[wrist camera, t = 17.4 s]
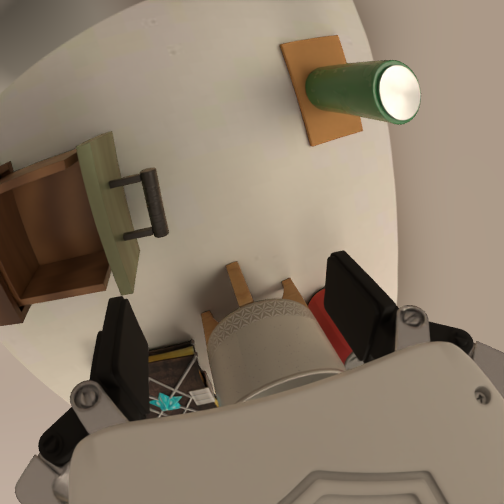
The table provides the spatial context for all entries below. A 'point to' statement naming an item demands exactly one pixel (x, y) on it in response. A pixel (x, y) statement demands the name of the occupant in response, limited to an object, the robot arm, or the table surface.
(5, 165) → the cabinet
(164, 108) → the table surface
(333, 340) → the beer can
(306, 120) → the mat
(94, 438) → the robot arm
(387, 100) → the green can
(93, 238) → the drawer
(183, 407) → the book
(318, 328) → the planter
